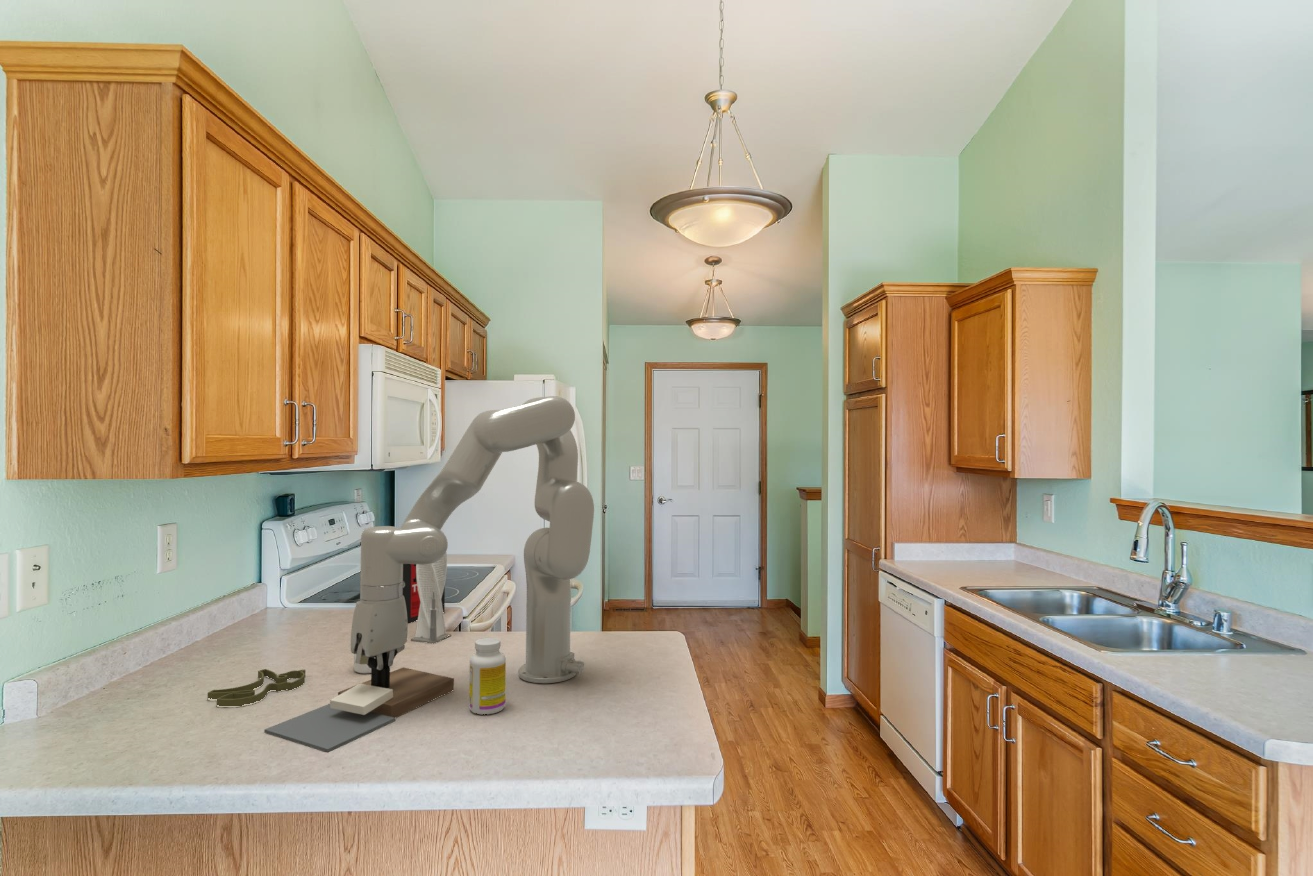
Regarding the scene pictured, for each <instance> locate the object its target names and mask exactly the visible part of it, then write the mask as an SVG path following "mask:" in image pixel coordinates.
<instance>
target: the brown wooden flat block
mask: <svg viewBox="0 0 1313 876" xmlns="http://www.w3.org/2000/svg"><path fill="white" fill-rule="evenodd" d="M360 684H366V685H371V679H370V680H366V681H364V682H362V683H360ZM454 685H455V678H454V677H450V676H449V677H448V676H444V675H440V674H435V673H432V672H426V671H422V670H417V669H412V668H408V667H400V668H398V669H396V670H392V671H390V687H389V688H387V689H393V698H391V699H390V700H388V701H386V702H385V703H383V704H381V705H380V706H378V707H377V708H375V709H373V710H372V711H371V712H375V713H379V714H383V715H386V716H390V717H394V718H395V719H396V718H397V717H399V716H402V715H405V714H406V713H408V711H409V712H411V711H413V710H415V709H417V708H419V707H418V706H420V705H422V704H424V705H426V704H428V703H429V702H428V701H430V702H432V701H431V700H433V699H435V698H437V697H439V696H441V695H443V696H445V695H444V694H446V695H447V693H448V692H450V693H452V692H453V691H452V690H454V691H455V686H454ZM354 686H355V685H354ZM354 686H351V687H347V688H345V689H343V690H341V691H338V692H337V696H338V695H340V694H342V693H344V692H345V691H347V690H349V689H351V688H353V687H354ZM451 691H452V692H451ZM448 694H449V693H448ZM441 697H442V696H441ZM439 698H440V697H439ZM437 699H438V698H437ZM435 700H436V699H435ZM433 701H434V700H433ZM427 702H428V703H427ZM425 703H426V704H425ZM422 706H423V705H422ZM416 707H417V708H416ZM420 707H421V706H420ZM414 708H415V709H414ZM410 710H411V711H410Z"/></svg>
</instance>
